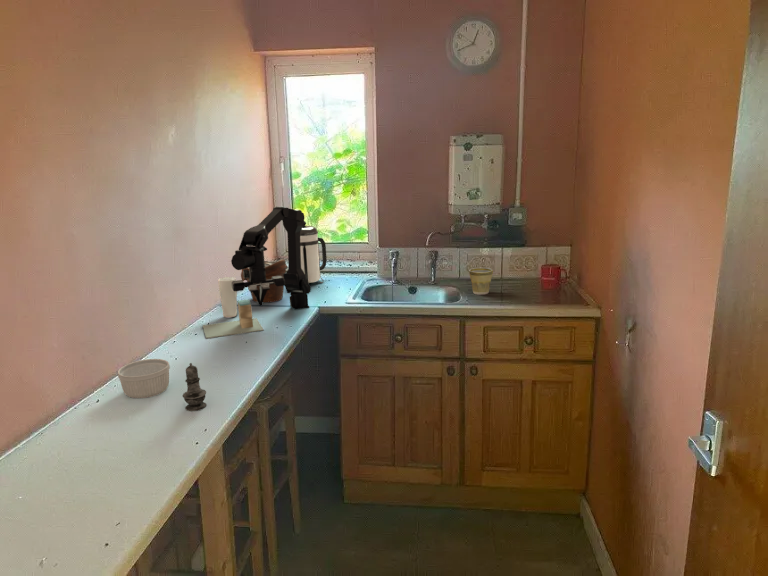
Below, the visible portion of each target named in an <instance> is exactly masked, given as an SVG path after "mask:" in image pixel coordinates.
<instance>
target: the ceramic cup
mask: <svg viewBox="0 0 768 576" xmlns="http://www.w3.org/2000/svg"><path fill="white" fill-rule="evenodd" d="M468 274H469V279H470V282H471V288H472V293H473V294H475V295H478V296H479V295H487V294H489V291H490V286H491V281H492V277H493V274H494V270H493V268H491V267H472V268H470V269H468Z"/></svg>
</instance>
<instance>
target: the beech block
mask: <svg viewBox="0 0 768 576" xmlns="http://www.w3.org/2000/svg"><path fill="white" fill-rule="evenodd" d="M237 311H238V318H239V320H240V325H241V327H242V328H249V327H253V320H252V319H253V311H252V303H251V301H250V299H241V300H237ZM239 320H238V321H239Z"/></svg>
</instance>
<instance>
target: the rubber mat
mask: <svg viewBox="0 0 768 576" xmlns="http://www.w3.org/2000/svg"><path fill="white" fill-rule="evenodd" d="M252 320H253V327H249V328H242V327H241V325H240V320H231V321H227V322H218V323H217V322H216V323H211V324H210V323H209V324H203V325H202V327H203V332H204V337H205V339H212V338H220V337H227V336H235V335H241V334H249V333H257V332H263V331H265V330H264V328H263V326H262V325H261V323H260V321H259V320H258V318H257V317H256V318H252Z"/></svg>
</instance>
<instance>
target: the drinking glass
mask: <svg viewBox="0 0 768 576" xmlns="http://www.w3.org/2000/svg"><path fill="white" fill-rule="evenodd" d="M217 281H218V282H217V283H218V292H219V297H220V304H221V310H222V316H223V318H230V319H231V318H235V317H237V315H238V298H237V297H238V296H237V295H238V294H237V293H238V291H233V289H232V282H233V281H237V280H236V277H232V276H231V277H230V276H229V277H228V276H227V277H222V278H218V280H217Z"/></svg>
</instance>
